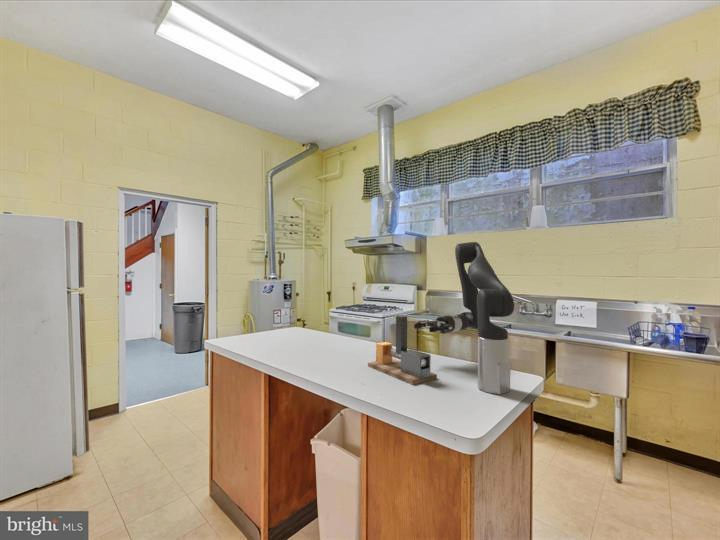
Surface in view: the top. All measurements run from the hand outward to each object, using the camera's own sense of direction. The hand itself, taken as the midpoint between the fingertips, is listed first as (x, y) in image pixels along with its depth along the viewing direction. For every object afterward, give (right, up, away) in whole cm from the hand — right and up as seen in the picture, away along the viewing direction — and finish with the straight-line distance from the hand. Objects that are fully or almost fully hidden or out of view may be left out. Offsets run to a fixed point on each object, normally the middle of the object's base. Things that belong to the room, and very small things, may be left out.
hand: (422, 327), depth 131 cm
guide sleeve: (-5, -14, -13) cm, 20 cm away
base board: (-10, -16, -6) cm, 20 cm away
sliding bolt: (-7, -11, -9) cm, 16 cm away
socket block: (-15, -14, +2) cm, 21 cm away
